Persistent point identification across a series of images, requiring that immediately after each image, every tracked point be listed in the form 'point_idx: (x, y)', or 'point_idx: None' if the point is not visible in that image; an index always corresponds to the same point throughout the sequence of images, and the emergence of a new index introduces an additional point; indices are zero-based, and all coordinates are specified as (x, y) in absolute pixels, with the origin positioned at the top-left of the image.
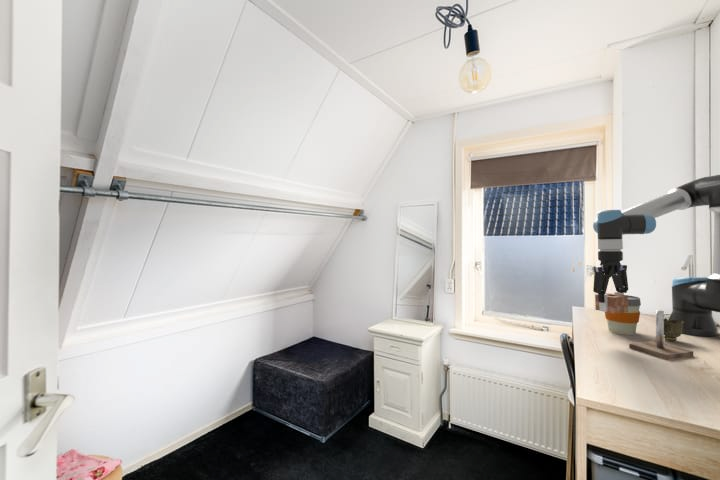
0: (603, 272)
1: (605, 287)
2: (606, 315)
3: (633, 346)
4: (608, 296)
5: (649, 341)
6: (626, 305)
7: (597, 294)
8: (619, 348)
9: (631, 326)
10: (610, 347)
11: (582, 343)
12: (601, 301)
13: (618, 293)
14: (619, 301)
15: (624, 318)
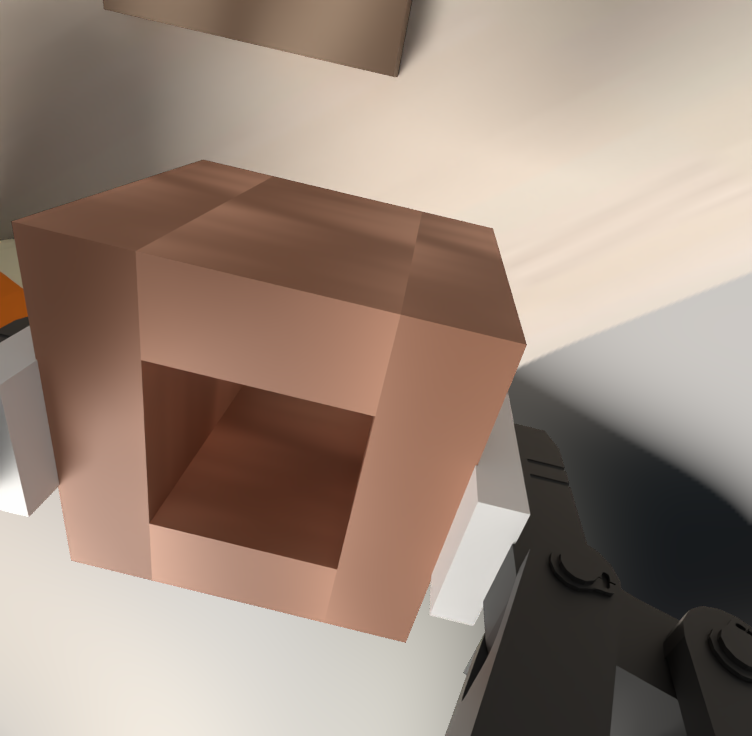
0: None
1: (553, 732)
2: None
3: (402, 35)
4: (449, 456)
5: (161, 14)
6: (182, 184)
7: (378, 623)
8: (476, 116)
9: (1, 260)
10: (509, 168)
11: (575, 325)
12: (554, 456)
13: (26, 435)
14: (331, 253)
15: (5, 314)
